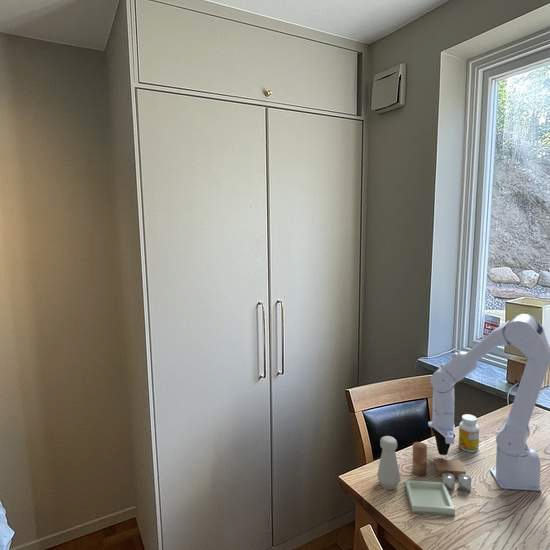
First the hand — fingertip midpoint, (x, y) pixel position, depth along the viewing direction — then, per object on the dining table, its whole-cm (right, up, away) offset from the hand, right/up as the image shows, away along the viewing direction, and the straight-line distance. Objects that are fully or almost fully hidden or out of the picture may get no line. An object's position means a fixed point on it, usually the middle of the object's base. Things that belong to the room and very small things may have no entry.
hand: (442, 453), depth 116 cm
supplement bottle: (+10, 0, +5) cm, 11 cm away
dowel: (-9, -2, -6) cm, 11 cm away
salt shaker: (-19, -4, -11) cm, 22 cm away
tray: (-11, -4, -17) cm, 21 cm away
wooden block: (-1, -3, -7) cm, 7 cm away
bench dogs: (-2, -3, -13) cm, 14 cm away
